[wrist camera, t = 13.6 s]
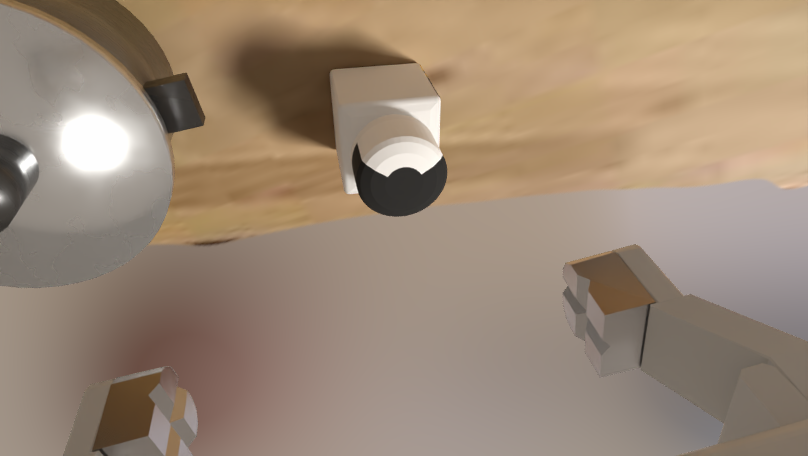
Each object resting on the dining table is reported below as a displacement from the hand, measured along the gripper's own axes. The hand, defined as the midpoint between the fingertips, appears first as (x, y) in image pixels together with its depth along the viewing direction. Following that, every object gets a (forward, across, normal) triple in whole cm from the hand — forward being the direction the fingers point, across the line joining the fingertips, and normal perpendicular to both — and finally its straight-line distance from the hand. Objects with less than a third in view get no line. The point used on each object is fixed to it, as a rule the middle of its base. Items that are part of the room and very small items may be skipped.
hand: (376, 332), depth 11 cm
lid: (+24, +19, +4) cm, 31 cm away
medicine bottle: (+34, -3, +11) cm, 36 cm away
